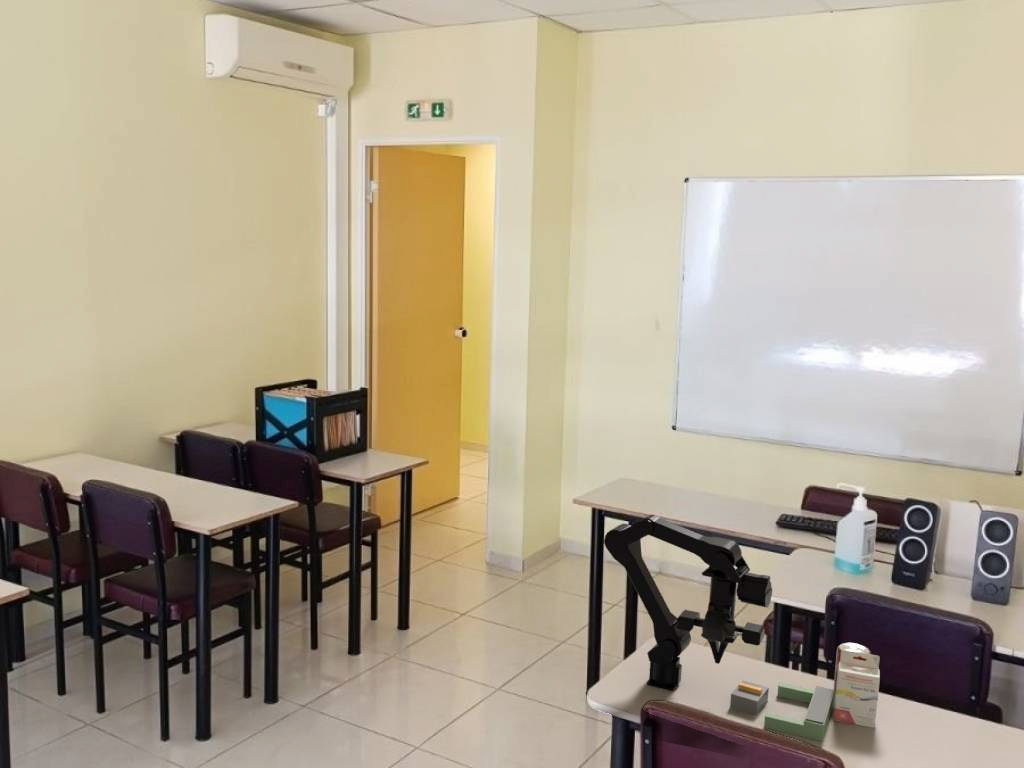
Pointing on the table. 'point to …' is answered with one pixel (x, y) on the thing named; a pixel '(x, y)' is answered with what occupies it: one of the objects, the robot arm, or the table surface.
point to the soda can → (854, 648)
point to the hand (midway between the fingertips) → (717, 662)
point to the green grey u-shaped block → (814, 717)
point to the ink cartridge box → (857, 689)
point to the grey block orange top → (749, 697)
